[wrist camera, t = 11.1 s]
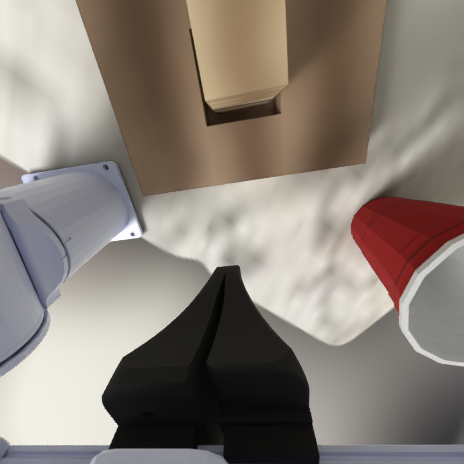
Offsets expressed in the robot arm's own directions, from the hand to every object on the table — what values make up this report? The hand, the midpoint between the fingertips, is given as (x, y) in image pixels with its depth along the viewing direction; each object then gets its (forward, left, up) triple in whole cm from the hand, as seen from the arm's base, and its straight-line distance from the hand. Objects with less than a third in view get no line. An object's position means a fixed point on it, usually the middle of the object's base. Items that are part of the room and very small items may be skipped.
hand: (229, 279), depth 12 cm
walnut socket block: (+2, +11, -10) cm, 15 cm away
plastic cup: (+15, -3, -11) cm, 19 cm away
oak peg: (+2, +11, -10) cm, 15 cm away
